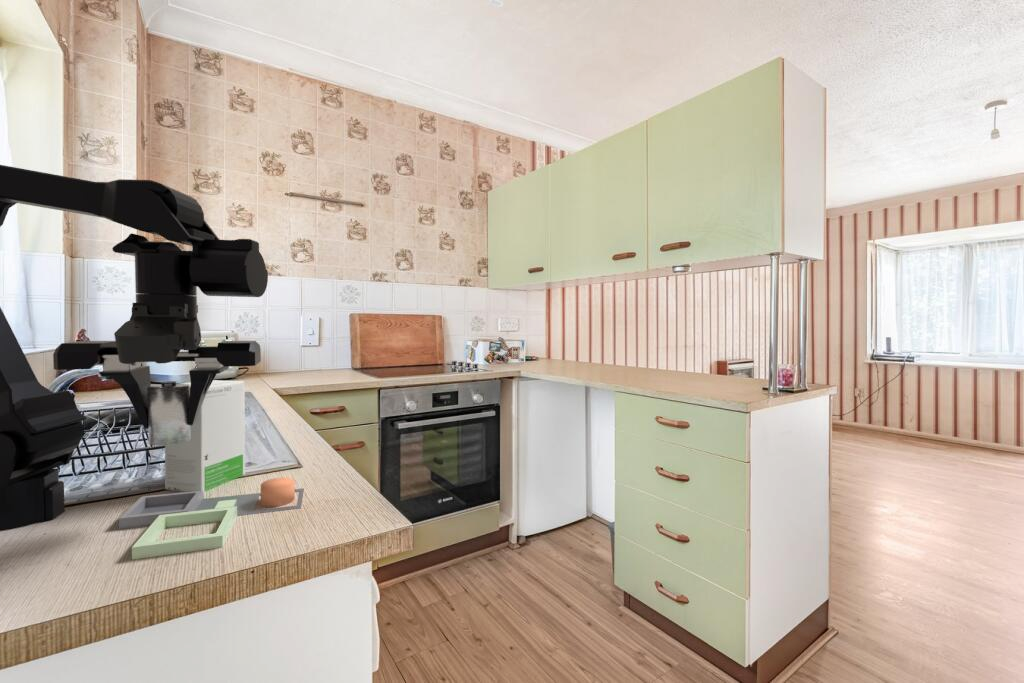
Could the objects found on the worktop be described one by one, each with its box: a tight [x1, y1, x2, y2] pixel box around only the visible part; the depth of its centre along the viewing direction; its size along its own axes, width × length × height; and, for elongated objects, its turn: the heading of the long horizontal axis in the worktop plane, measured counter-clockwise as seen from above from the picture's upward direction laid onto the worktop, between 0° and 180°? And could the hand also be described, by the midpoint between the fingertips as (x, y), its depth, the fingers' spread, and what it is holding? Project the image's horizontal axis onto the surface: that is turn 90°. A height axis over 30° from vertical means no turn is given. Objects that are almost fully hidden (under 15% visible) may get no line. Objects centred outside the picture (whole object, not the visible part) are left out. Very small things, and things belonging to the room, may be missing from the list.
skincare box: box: [164, 379, 246, 493], centre depth 66 cm, size 8×7×16 cm
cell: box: [147, 380, 191, 447], centre depth 54 cm, size 4×4×7 cm
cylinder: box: [260, 477, 295, 508], centre depth 60 cm, size 4×4×2 cm
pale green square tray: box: [131, 506, 238, 561], centre depth 50 cm, size 8×8×2 cm
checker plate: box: [115, 488, 305, 531], centre depth 58 cm, size 19×7×2 cm, turn 112°
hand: (169, 425), depth 54 cm, fingers closed on cell, 4 cm apart
